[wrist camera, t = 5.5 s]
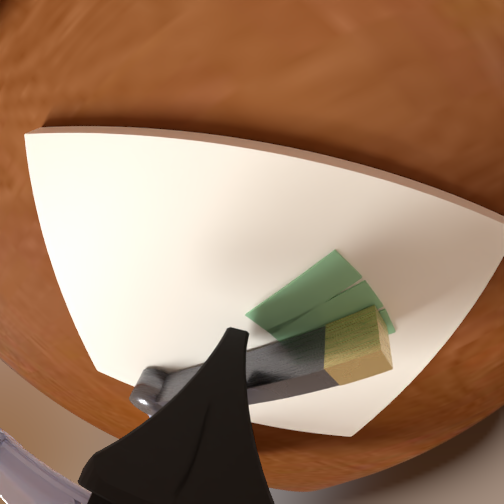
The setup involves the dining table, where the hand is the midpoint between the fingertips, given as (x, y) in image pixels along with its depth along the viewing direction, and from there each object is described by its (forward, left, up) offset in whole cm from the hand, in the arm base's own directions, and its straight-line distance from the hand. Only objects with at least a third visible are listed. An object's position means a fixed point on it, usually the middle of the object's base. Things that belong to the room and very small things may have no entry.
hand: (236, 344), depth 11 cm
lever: (-3, 0, -1) cm, 3 cm away
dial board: (-1, +1, -2) cm, 3 cm away
